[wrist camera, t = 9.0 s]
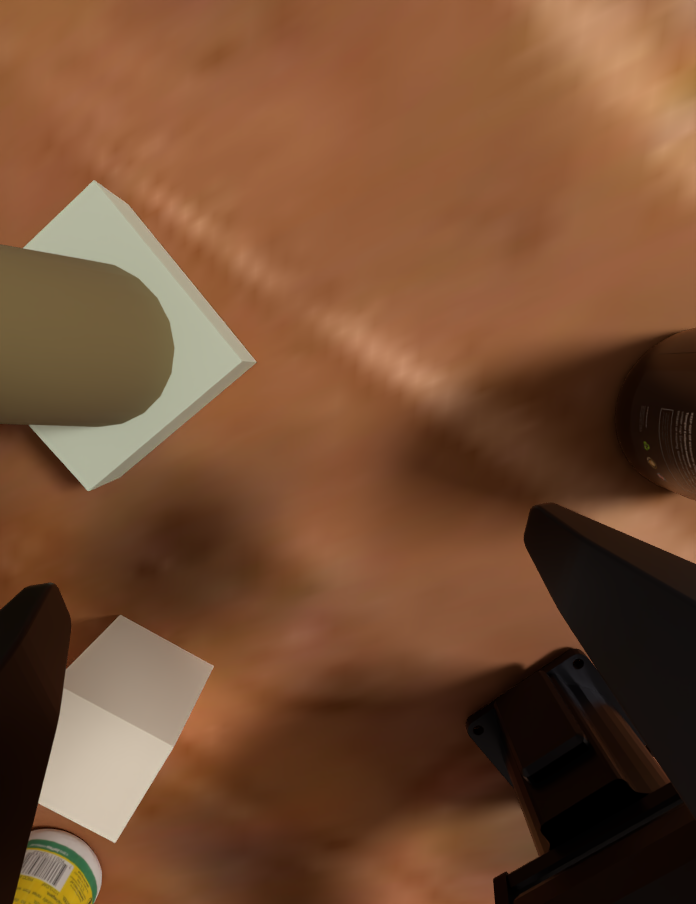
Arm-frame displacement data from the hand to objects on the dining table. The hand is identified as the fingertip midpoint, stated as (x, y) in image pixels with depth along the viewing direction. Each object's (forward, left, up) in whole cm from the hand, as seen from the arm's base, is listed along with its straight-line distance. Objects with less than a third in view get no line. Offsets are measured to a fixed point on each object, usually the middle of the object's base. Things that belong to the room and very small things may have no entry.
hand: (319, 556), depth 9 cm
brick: (-3, +14, -12) cm, 19 cm away
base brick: (+9, +4, -12) cm, 16 cm away
